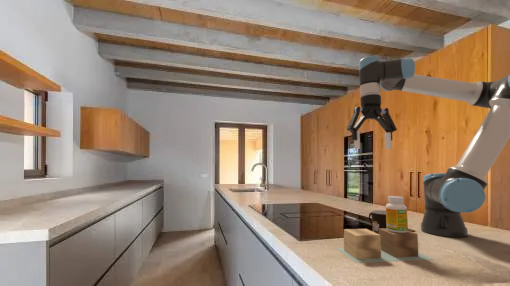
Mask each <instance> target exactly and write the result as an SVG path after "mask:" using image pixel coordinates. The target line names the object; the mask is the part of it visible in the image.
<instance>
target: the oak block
mask: <svg viewBox="0 0 510 286" xmlns="http://www.w3.org/2000/svg"><path fill="white" fill-rule="evenodd" d="M343 248H344V251H346V252H347V253H349V254H350V255H352V256H353V257H354V258H356V259H368V258H381V239H380V235H379V234H377V233H375V232H374V231H372V230H370V229H368V228H345V229H343Z"/></svg>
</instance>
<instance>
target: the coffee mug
mask: <svg viewBox="0 0 510 286" xmlns="http://www.w3.org/2000/svg"><path fill="white" fill-rule="evenodd" d="M368 220H369V222H370V224H371V226H372V230H373V232H375V233H377V234H379V228H387V227H386V210H381V209H377V210H370V213H369V214H368Z"/></svg>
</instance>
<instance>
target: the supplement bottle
mask: <svg viewBox="0 0 510 286" xmlns="http://www.w3.org/2000/svg"><path fill="white" fill-rule="evenodd" d="M404 199H405V198H404V196H397V195H388V196H387V201H388V203H386V205H385V211H386V227H387V230H388V231H390V232H395V233H407V232H408V231H409V225H408V207H407V205H405V204H404Z"/></svg>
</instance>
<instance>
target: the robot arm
mask: <svg viewBox="0 0 510 286" xmlns="http://www.w3.org/2000/svg"><path fill="white" fill-rule="evenodd" d="M358 76H359V78H358V79H359V93H360V94H359V95H360V101H359V102H360V106H356V107H354V108H353V113H352V116H351V118H350V120H349V123H348V125H347V129H346V130H347V131H348V132H350V133H351V140H352V141H353V144H354V147H353V148H354V150H359V149H361V139H360V138H361V135H360V134H361V132H360V131H359V129H360V128H361V127H362V126H363V124H364V123H365V121H366V120H375V121H376V122H378V124H379V125H380V126H381V128H382V129H383V130H384V132H385V133H384V150H391V149H392V141H393V133H394V132H396V131H398V130H397V129H398V128H397V127H396V125H395V123H394V120H393V119H392V117H391V114H390V111H389V108H388V107H385V108H384V107H383V108H382V107H381V105H382V96H381V94H382V91H381V90H383V91H385V92H391V91H394V90H395V91H401V92H405V93H406V92H407V93H413V94H419V95H424V96H431V97H437V98H443V99H448V100H454V101H460V102H466V103H467V104H468V105H470V106H473V107H480V108H485V109H489V110H488V112H487V114H486V115H485V117H484V119H483V120H482V122H481V124H480V126H479V127H478V129H477V131H476V133H475V134H474V136H473V137H472V139H471V140H470V142H469V144H468V146H467V147H466V148H465V150H464V152H463V154H462V155H461V157H460V158H459V160H458V162H457V164H456V165H454V166H450V167H448V169H447V170H446V172H442V173H427V174H425V175H424V176H423V181H422V184H423V194H424V195H423V196H424V213H423V216H422V221H421V223H420V230H421V231H422V232H424V233H427V234H430V235H434V236H442V237H448V238H449V237H450V238H466V237H468V236H469V232H468V228H467V227H466V224H465V222H464V219H463V216H462V214H463V213H464V214H467V213H468V214H469V213H472V212H475V211H477V210H479V209H480V208H481V207H483V205H484V204H485V201H486V193H485V189H486V187H487V186H488V180H487V179H486V176H487V175H488V174H489V171H490V170H491V168H492V166H493V165H494V163H495V162H496V160H497V159H498V157H499V156H500V154H501V152H502V150H503V149H504V148H505V146H506V145H507V142H508V141H509V139H510V73H509V74H507V75H505V76H504V77H502V78H500V79H498V80H495V81H481V80H479V81H477V82H471V81H470V82H469V81H462V80H456V79H448V78H441V77H436V76H435V77H434V76H428V75H421V74H416V63H415V60H414V59H413V58H400V59H399V58H398V59H392V60H384V61H382V60H380V58H379V56H376V55H374V56H373V55H369V56H368V55H367V56H365V57H362V59H360V61H359V62H358ZM360 113H361V115H360ZM359 115H360V117H359Z"/></svg>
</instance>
